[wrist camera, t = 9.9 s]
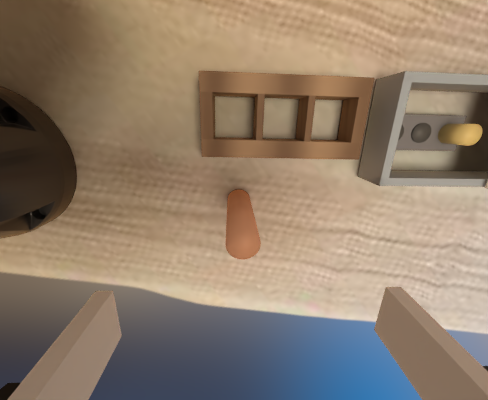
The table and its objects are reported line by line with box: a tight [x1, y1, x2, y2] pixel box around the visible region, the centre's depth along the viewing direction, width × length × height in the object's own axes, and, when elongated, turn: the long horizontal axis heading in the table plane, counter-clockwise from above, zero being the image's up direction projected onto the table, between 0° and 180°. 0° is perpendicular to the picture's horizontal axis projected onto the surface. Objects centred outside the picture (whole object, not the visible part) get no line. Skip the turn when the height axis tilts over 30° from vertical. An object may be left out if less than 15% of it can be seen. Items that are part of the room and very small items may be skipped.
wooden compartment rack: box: [199, 71, 374, 159], centre depth 22 cm, size 15×7×3 cm, turn 88°
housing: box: [358, 71, 488, 187], centre depth 23 cm, size 22×10×4 cm, turn 88°
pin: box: [226, 190, 261, 259], centre depth 22 cm, size 3×3×10 cm
